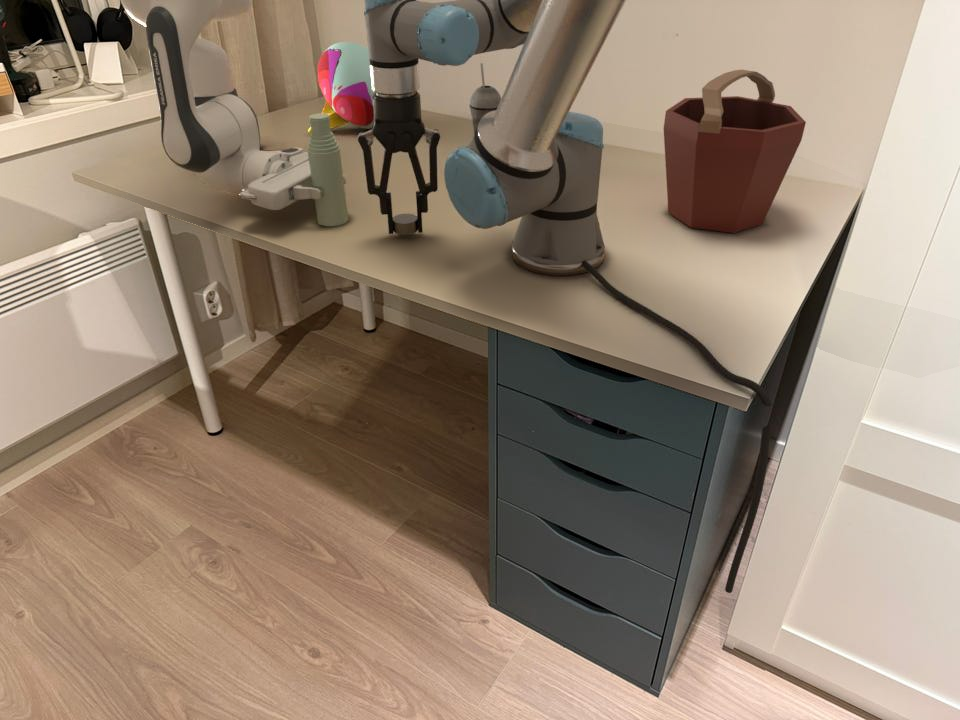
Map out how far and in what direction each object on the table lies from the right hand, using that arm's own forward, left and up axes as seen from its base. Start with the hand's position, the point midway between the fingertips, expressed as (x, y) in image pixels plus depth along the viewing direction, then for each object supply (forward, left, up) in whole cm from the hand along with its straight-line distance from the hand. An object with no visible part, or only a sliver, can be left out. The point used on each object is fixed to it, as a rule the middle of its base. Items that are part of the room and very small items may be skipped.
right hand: (405, 229), depth 124 cm
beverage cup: (+34, -29, -1) cm, 45 cm away
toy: (+69, -7, -1) cm, 70 cm away
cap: (0, 0, +2) cm, 2 cm away
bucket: (-13, -56, -1) cm, 57 cm away
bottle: (+12, +10, -1) cm, 16 cm away
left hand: (+12, +10, +5) cm, 16 cm away
